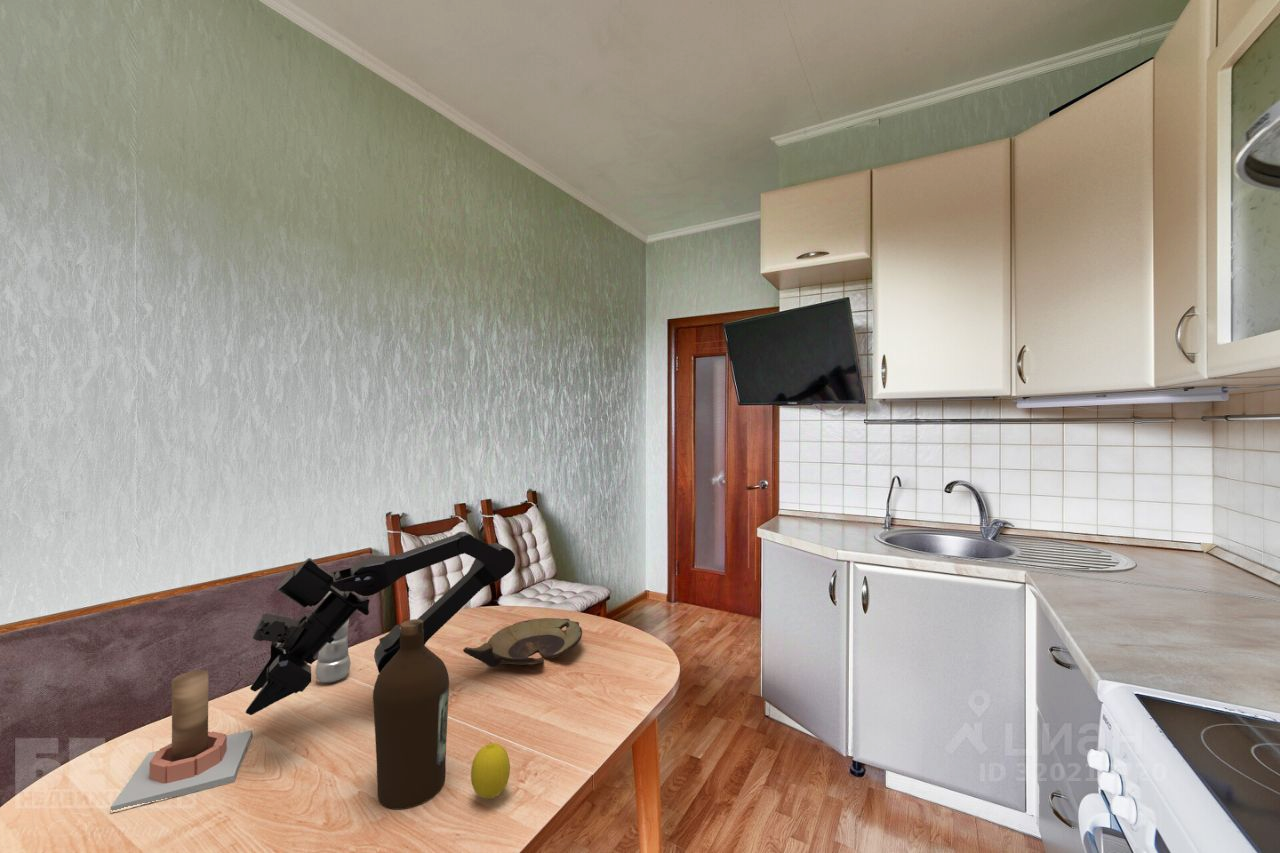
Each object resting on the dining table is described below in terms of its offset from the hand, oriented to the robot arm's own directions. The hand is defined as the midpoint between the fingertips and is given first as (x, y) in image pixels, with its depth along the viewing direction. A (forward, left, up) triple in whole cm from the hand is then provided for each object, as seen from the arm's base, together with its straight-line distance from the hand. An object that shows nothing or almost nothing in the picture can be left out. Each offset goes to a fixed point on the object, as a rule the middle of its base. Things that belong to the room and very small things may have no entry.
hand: (250, 701), depth 87 cm
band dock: (+8, +1, -9) cm, 12 cm away
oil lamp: (-51, -14, -9) cm, 54 cm away
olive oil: (-24, +23, -9) cm, 34 cm away
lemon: (-34, +31, -9) cm, 46 cm away
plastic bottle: (-11, -23, -9) cm, 27 cm away
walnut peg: (+8, +1, -8) cm, 11 cm away
